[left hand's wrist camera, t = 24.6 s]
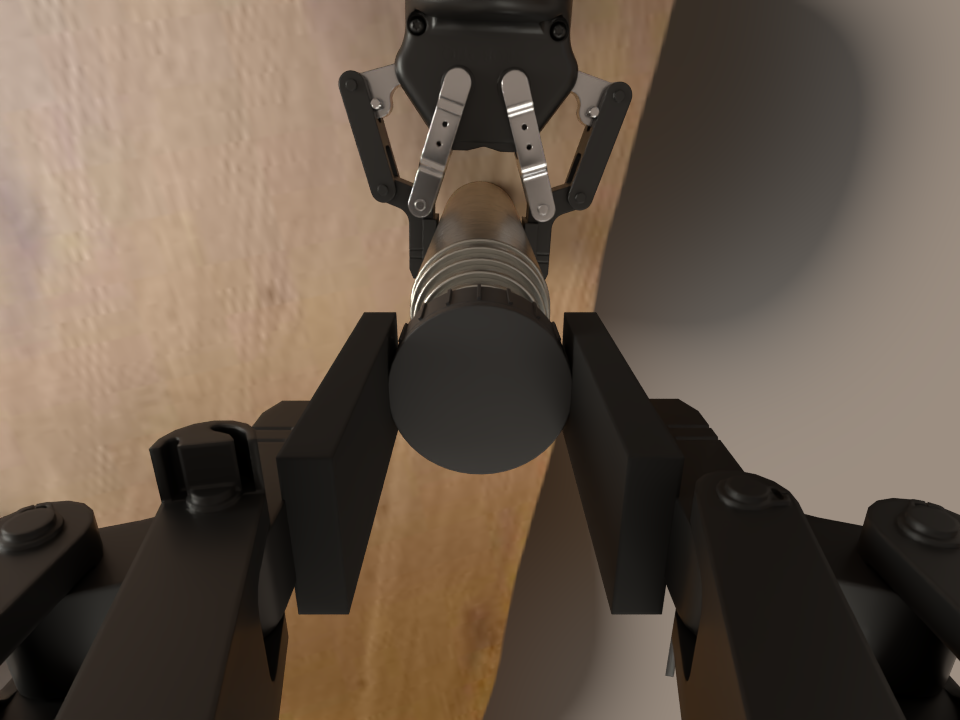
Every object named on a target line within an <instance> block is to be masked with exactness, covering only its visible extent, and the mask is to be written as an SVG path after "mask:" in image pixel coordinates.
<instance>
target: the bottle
mask: <svg viewBox="0 0 960 720" xmlns="http://www.w3.org/2000/svg"><path fill="white" fill-rule="evenodd" d="M477 284H481V287H493V288H499V289H503V290H507V288H509V289H511V292H513V293H515V294H517V295H519V296H522V297H523V298H525V299H527V300H528V301H530V302H531V303H532V302H533V301H534V302H536V303H537V307H538V308H539V309H540V310H541V311H542V312H543V313H544V314H545V315H546V316H547V317H548V319H549V320H550V298H549V292H548V288H547V284H546V282H545V279H544V277H543V275H542V272H541V270H540V267H539V265H538V262H537V260H536V258H535V255H534V253H533V250H532V248H531V245H530V243H529V241H528V238H527V236H526V233H525V231H524V229H523V226H522V224H521V221H520V219H519V216H518V214H517V212H516V209H515V207H514V204H513V202H512V200H511V198H510V197H509V196H508V194H507V193H506V192H505V191H504V190H502V189H501V188H500V187H498V186H496V185H494V184H492V183H488V182H472V183H468V184H466V185H464V186H462V187H460V188H459V189H458V190H456V191H455V192H454V193H453V194H452V196H451V197H450V198H449V200H448V202H447V204H446V207H445V209H444V211H443V214H442V216H441V219H440V221H439V224H438V226H437V228H436V231H435V233H434V236H433V238H432V241H431V243H430V245H429V248H428V250H427V253H426V255H425V258H424V260H423V262H422V265H421V267H420V270H419V272H418V275H417V277H416V279H415V282H414V285H413V288H412V293H411V299H410V320H411V319H412V318H413V317H414V316H415V314H416V313H417V312H418V311H419V310H421V307H422V304H423V303H426V304H428V303H429V302H431V301H432V300H433V299H435V298H437V297H439V296H441V295H443V294H445V293H447V292H448V289H452V291H453V290H457V289H461V288H466V287H477Z"/></svg>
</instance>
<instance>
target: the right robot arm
mask: <svg viewBox="0 0 960 720" xmlns="http://www.w3.org/2000/svg"><path fill="white" fill-rule="evenodd" d="M572 2H573V0H405V19H406V26H405V35H404V40H403V42H402V45H401V47H400V49H399V51H398V53H397V56H396V59H395V64H391V65H388V66H384V67H381V68H377V69H374V70H370V71H367V72H363V73H358V72H356V71H351V70H350V71H346V72H344V73H343V74H342V75H341V76H340V79H339V89H340V93H341V96H342V99H343V102H344V106H345V109H346V112H347V115H348V119H349V122H350V125H351V128H352V132H353V135H354V138H355V141H356V145H357V148H358V151H359V154H360V157H361V161H362V164H363V167H364V170H365V174H366V177H367V180H368V183H369V187H370V190H371V193H372V195H373V197H374V198H375V199H376V200H377V201H379V202H382V203H388V204H391V205H393V206H396V207H398V208H400V209H402V210H403V211H404V212H405V213H406V214H407V216H408V219H409V249H410V251H409V256H410V271H411V273H412V276H413V278H416V277H417V275H418V272H419V270H420V267H421V265H422V262H423V260H424V258H425V255H426V253H427V250H428V248H429V245H430V243H431V241H432V238H433V236H434V233H435V231H436V228H437V226H438V224H439V214H438V213H435V203H436V200H437V196H438V193H439V190H440V187H441V184H442V181H443V178H444V175H445V172H446V169H447V166H448V163H449V160H450V157H451V154H452V151H453V150H471V149H475V148H479V147H488V148H491V149H494V150H497V151H500V152H514V155H515V159H516V163H517V167H518V170H519V174H520V177H521V182H522V186H523V190H524V194H525V198H526V202H527V210H526V217H522V226H523V229H524V231H525V233H526V236H527V238H528V241H529V243H530V245H531V248H532V250H533V253H534V255H535V258H536V260H537V262H538V265H539V267H540V270H541V272H542V275H543V277H544V279H546V277H547V275H548V267H549V254H550V241H551V228H552V224H553V222H554V220H555V219H556V218H557V217H558V216H560V215H562V214H564V213H567V212H570V211H573V210H584V209H586V208H588V207H589V206H590V204H591V203H592V200H593V198H594V195H595V193H596V190H597V188H598V185H599V182H600V180H601V177H602V175H603V172H604V169H605V167H606V164H607V162H608V159H609V156H610V154H611V151H612V149H613V146H614V144H615V141H616V138H617V136H618V133H619V131H620V128H621V125H622V123H623V120H624V118H625V115H626V112H627V110H628V107H629V105H630V102H631V99H632V91H631V88H630V87H629V85H628V84H626V83H624V82H614V83H610V82H607V81H605V80H602V79H599V78H596V77H594V76H591V75H588V74H586V73H583V72H580V71H578V65H577V61H576V59H575V56H574V54H573V51H572V47H571V42H570V27H571V15H572ZM400 86H401V87H402V88H403V90H404V91H405V93H406V94H407V96H408V97H409V99H410V100H411V102H412V103H413V105H414V107H415V108H416V110H417V111H418V113H419V114H420V116H421V117H422V119H423V120H424V122H425V123H426V125H427V126H428V128H429V132H428V136H427V139H426V142H425V146H424V149H423V152H422V155H421V159H420V163H419V168H418V171H417V175H416V178H415V181H414V183H412V182H409V181H407V180H404V179H402V178H400V176H399V173H398V169H397V166H396V162H395V159H394V155H393V152H392V148H391V145H390V141H389V138H388V134H387V131H386V128H385V124H384V121H383V118H385V117H387V116H389V115H390V113H391V112H392V110H393V94H394V92H395V90H396V89H397V88H398V87H400ZM570 93H572V94H573V95H574V96H575V97H576V99H577V104H578V107H577V112H576V115H577V119H578V121H579V122H580V123H581V124H583V125H585V129H584V132H583V134H582V137H581V140H580V143H579V145H578V148H577V151H576V154H575V156H574V159H573V162H572V164H571V167H570V170H569V173H568V175H567V178H566V181H565V184H562V185H559V186H556V187H553V188H551V186H550V181H549V177H548V172H547V165H546V160H545V155H544V151H543V147H542V142H541V138H540V132H541V130H542V129H543V128H544V126H545V125H546V124H547V122H548V121H549V120H550V119H551V117H552V116H553V115H554V113H555V112H556V111H557V109H558V108H559V107H560V105H561V104H562V103H563V102H564V100H565V99H566V98H567V96H568V95H569V94H570Z"/></svg>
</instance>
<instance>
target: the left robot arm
mask: <svg viewBox="0 0 960 720" xmlns="http://www.w3.org/2000/svg"><path fill="white" fill-rule="evenodd" d="M562 346H563V347H564V349H565V352H566V354H567V357H568V360H569V363H570V369H571V373H572V389H571V405H570V414H569V416H568V419H567V421H566V423H565V425H564V427H563V429H562V430H563V434H564V438H565V441H566V445H567V449H568V453H569V456H570V460H571V464H572V468H573V471H574V475H575V479H576V483H577V486H578V490H579V494H580V498H581V501H582V505H583V509H584V513H585V517H586V520H587V524H588V528H589V532H590V535H591V539H592V543H593V546H594V550H595V554H596V558H597V561H598V565H599V569H600V573H601V576H602V580H603V584H604V588H605V592H606V595H607V599H608V603H609V606H610V610H611V614H662V609H663V602H664V596H665V589H666V585H667V587H668V590H669V592H670V595H671V597H672V600H673V602H674V605H675V607H676V611H675V618H674V624H673V630H672V637H671V643H670V649H669V656H668V662H667V669H666V676H671V677H673V676H674V671H675V669H676V677H677V685H678V693H679V702H680V710H681V719H682V720H960V687H959V686H958V684H957V683H956V682H955V681H954V680H953V679H952V678H951V677H950V676H949V675H950V672H951V670H952V667H953V665H954V662H955V660H956V657H957V658H958V659H959V660H960V515H958V514H956V513H954V512H951V511H949V510H946V509H944V508H943V507H942V506H939V505H936V504H933V503H929V502H928V503H925V501H921V500H915V499H899V498H890V499H884V500H878V501H876V502H875V503H873V504H872V505H871V506H870V507H868V510H867V514H866V517H865V521H864V524H863V526H860V525H855V524H850V523H844V522H839V521H834V520H829V519H823V518H818V517H814V516H810V515H806V514H804V513H803V511H802V509H801V507H800V505H799V503H798V501H797V500H796V499H795V498H794V496H793V495H792V494H791V493H790V492H789V491H788V490H787V489H785V488H783V487H782V486H780V485H779V484H777V483H776V482H774V481H772V480H769V479H766V478H764V477H761V476H759V475H756V474H752V473H746V472H744V471H743V470H742V468H741V467H740V466H739V464H738V463H737V462H736V460H735V459H734V458H733V456H732V455H731V454H730V452H729V451H728V450H727V448H726V447H725V446H724V444H723V443H722V442H721V440H718V436H717V435H716V434H715V433H714V431H713V430H712V429H711V428H709V425H708V423H707V422H706V421H705V419H704V418H703V417H702V415H701V414H700V413H699V411H697V410H696V409H694V408H692V407H691V406H689V405H688V404H686V403H684V402H683V401H681V400H679V399H649V398H648V396H647V395H646V393H645V391H644V390H643V388H642V387H641V385H640V383H639V382H638V380H637V378H636V377H635V375H634V374H633V372H632V370H631V369H630V367H629V365H628V364H627V362H626V360H625V359H624V357H623V355H622V354H621V352H620V351H619V349H618V347H617V346H616V344H615V342H614V341H613V339H612V337H611V336H610V334H609V333H608V331H607V329H606V328H605V326H604V324H603V323H602V321H601V320H600V318H599V316H598V315H597V313H596V312H564V325H563V343H562ZM397 347H398V336H397V318H396V312H364V314H363V315H362V317H361V318H360V320H359V322H358V323H357V325H356V327H355V328H354V330H353V332H352V333H351V335H350V336H349V338H348V340H347V341H346V343H345V345H344V346H343V348H342V350H341V351H340V353H339V354H338V356H337V358H336V359H335V361H334V363H333V364H332V366H331V368H330V369H329V371H328V373H327V374H326V376H325V377H324V379H323V381H322V382H321V384H320V386H319V387H318V389H317V391H316V392H315V394H314V395H313V397H312V399H311V400H310V401H281V402H280V403H278V404H276V405H275V406H273V407H271V408H270V409H268V410H267V411H265V412H263V413H262V414H261V416H260V417H259V418H258V420H257V421H256V422H255V424H254V425H253V426H252V427H251V426H250V425H248V424H246V423H241V422H237V421H209V422H203V423H197V424H193V425H190V426H187V427H184V428H180V429H177V430H175V431H173V432H171V433H169V434H167V435H165V436H164V437H162V438H160V439H158V440H157V441H156V442H155V443H154V444H153V445H152V446H151V447H150V448H149V451H150V455H151V460H152V464H153V468H154V472H155V477H156V481H157V485H158V489H159V493H160V498H161V502H162V504H161V506H160V508H159V510H158V512H157V514H156V516H155V517H153V518H149V519H145V520H141V521H135V522H130V523H125V524H120V525H114V526H109V527H104V528H98V526H97V522H96V519H95V516H94V512H93V510H92V509H91V508H89V507H88V506H87V505H86V504H84V503H79V502H73V501H59V502H45V503H40V504H37V505H36V506H34V505H31V506H28V507H24V508H22V509H20V510H18V511H17V512H14V513H12V514H10V515H7V516H5V517H3V518H0V720H279V712H280V703H281V695H282V687H283V678H284V670H285V661H286V653H287V645H288V631H287V624H286V618H285V609H286V606H287V604H288V601H289V599H290V596H291V594H292V591H293V589H294V586H295V593H296V600H297V607H298V614H349V612H350V608H351V604H352V600H353V597H354V593H355V589H356V585H357V582H358V578H359V574H360V570H361V567H362V563H363V559H364V555H365V552H366V548H367V544H368V540H369V537H370V533H371V529H372V525H373V522H374V518H375V514H376V510H377V507H378V503H379V499H380V495H381V492H382V488H383V484H384V480H385V477H386V473H387V469H388V465H389V462H390V458H391V454H392V450H393V447H394V443H395V439H396V435H397V432H398V428H397V427H396V424H395V422H394V420H393V418H392V415H391V412H390V399H389V382H388V374H389V370H390V367H391V363H392V360H393V358H394V355H395V352H396V350H397Z"/></svg>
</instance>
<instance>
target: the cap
mask: <svg viewBox="0 0 960 720" xmlns="http://www.w3.org/2000/svg"><path fill="white" fill-rule="evenodd" d="M560 340H561V338H560V335H559V332H558V330H557V327H556V324H555V323H554V321H553V322H552V323H551V322H550V320H549V319H548V317H547V316H546V315H545V314H544V313H543V312H542V311H541V310H540V309H539V308H538V307H537V303H536V302H534V301H533V302H532V303H531V302H530V301H528V300H527V299H525V298H523V297H522V296H519V295H517V294H515V293H513V292H511V289H509V288H507V290H503V289H499V288H493V287H481V284H477V287H466V288H461V289H457V290H453V291H452V289H448V292H447V293H445V294H443V295H441V296H439V297H437V298H435V299H433V300H432V301H431V302H429V303H428V304H426V303H423V304H422V307H421V310H419V311H418V312H417V313H416V314H415V316H414V317H413V318H412V319H411V321H410V322H409V324H407V323H405V325H404V327H403V330H402V332H401V335H400V338H399V340H398V342H399V344H398V347H397V350H396V352H395V355H394V358H393V360H392V363H391V367H390V370H389V374H388V382H389V399H390V412H391V415H392V418H393V420H394V422H395V424H396V427H397V428H398V430H399V432H400V433H401V435H402V436H403V438H404V439H405V440H406V441H407V442H408V443H409V445H410V446H411V447H412V448H414V449H415V450H416V451H417V452H418V453H419V454H420V455H422V456H423V457H425V458H426V459H428V460H429V461H431V462H433V463H435V464H437V465H439V466H441V467H444V468H446V469H449V470H453V471H457V472H461V473H468V474H493V473H499V472H504V471H508V470H511V469H514V468H517V467H519V466H521V465H523V464H526V463H527V462H529V461H531V460H533V459H534V458H536V457H537V456H538V455H540V454H541V453H542V452H544V451H545V450H546V449H547V448H548V447H549V446H550V445H551V444H552V443H553V442H554V440H555V439H556V438H557V436H558V435H559V434H560V432H561V430H562V429H563V427H564V425H565V423H566V421H567V419H568V416H569V414H570V405H571V389H572V373H571V369H570V363H569V360H568V357H567V354H566V352H565V349H564V347H563V346H562V343H561V341H560Z"/></svg>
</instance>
